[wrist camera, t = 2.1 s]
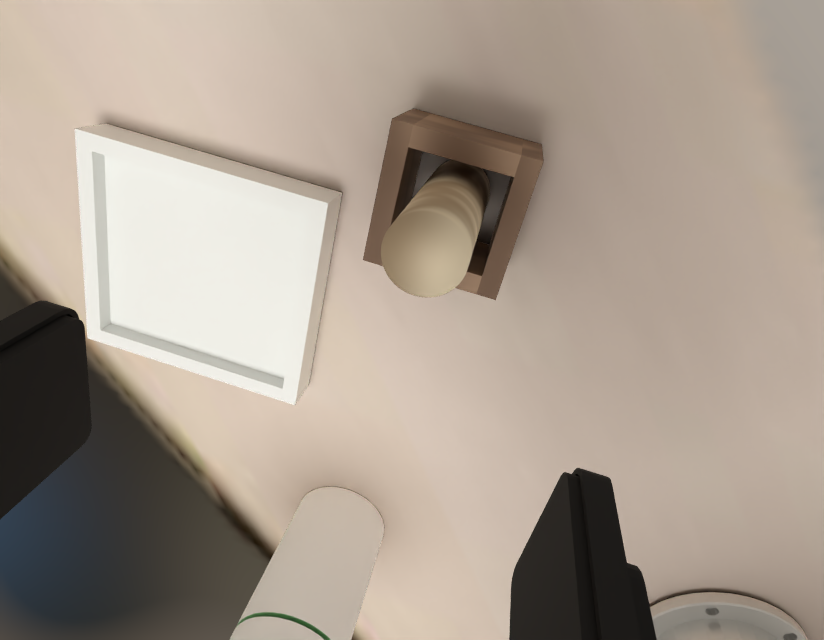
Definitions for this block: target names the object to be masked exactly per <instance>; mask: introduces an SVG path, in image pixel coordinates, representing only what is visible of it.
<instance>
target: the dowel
mask: <svg viewBox="0 0 824 640" xmlns="http://www.w3.org/2000/svg"><path fill="white" fill-rule="evenodd" d="M489 196H490V184H489V180H488V178H487V175H486V174H485V172H484V171H483V170H482V169H481V168H480V167H476V166H473V165H469V164H466V163H462V162H459V161H455V160H450V161H447V162H445V163H444V164H442V165H441V166H440V167H438V168H437V170H436V171H435V172H434V173H433V174H432V176H431V177H430V178H429V179H428V181H427V182H426V183H425V184H424V185H423V187H422V188H421V189H420V190H419V192H418V193H417V194H416V195H415V196H414V198H413V199H412V200H411V201H410V203H409V204H408V205H407V206H406V208H405V209H404V210H403V211H402V212H401V214H400V215H399V216H398V217H397V219H396V220H395V221H394V222H393V223H392V225H391V226H390V227H389V228H388V230H387V232H386V233H385V235H384V238H383V241H382V245H381V260H382V264H383V267H384V269H385V271H386V273H387V275H388V277H389V278H390V279H391V280H392V282H393V283H394V284H395V285H396V286H398V287H399V288H400V289H402V290H403V291H405V292H407V293H409V294H412V295H415V296H419V297H437V296H441V295H443V294H446V293H448V292H450V291H451V290H453V289H454V288H455V287H457V286H458V285H459V284H460V282H461V281H462V280H463V278H464V276H465V275H466V272H467V270H468V266H469V263H470V260H471V256H472V253H473V250H474V246H475V243H476V240H477V236H478V233H479V230H480V226H481V223H482V220H483V216H484V213H485V210H486V206H487V203H488V200H489Z"/></svg>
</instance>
